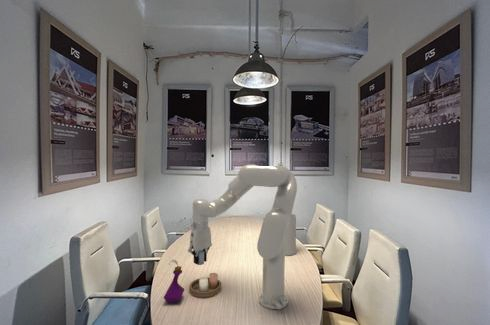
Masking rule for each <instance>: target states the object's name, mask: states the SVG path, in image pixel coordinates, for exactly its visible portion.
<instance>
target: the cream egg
mask: <svg viewBox="0 0 490 325" xmlns="http://www.w3.org/2000/svg"><path fill="white" fill-rule="evenodd" d="M206 277H207V276H206ZM206 277H203V276H202V277H201V278H200V277H199V278H200V279H199V278H198V279H199V292H208V278H206Z"/></svg>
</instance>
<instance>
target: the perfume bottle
mask: <svg viewBox="0 0 490 325" xmlns="http://www.w3.org/2000/svg"><path fill="white" fill-rule="evenodd" d="M171 263H174V264H176V265H177V266H175V267H174V270H172V271H173V272H172V274H173V279H172V281H171V283H170V285H169V287H168V289H167V290H166V292H165V294H164V296H163V299H164V300H165V301H166V302H167V303H168V304H179V303H180V301H181V298H182V296H183V294H184V292H185V288H184V287H183V286H181V285H180V284H179V282H178V280H179V276H180V275H181V274H182V273H183V269H182V266H181V265H179V264H178V261H177V260H176V259H174V258H173V259H172V260H170V261H169V264H168V265H171Z"/></svg>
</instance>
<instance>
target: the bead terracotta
mask: <svg viewBox="0 0 490 325" xmlns="http://www.w3.org/2000/svg"><path fill="white" fill-rule="evenodd" d="M208 277H209V288H210V289H216V288H217V287H218V280H219V279H218V278H219V276H218V273H216V272H212V273H209V275H208Z"/></svg>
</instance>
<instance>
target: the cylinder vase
mask: <svg viewBox="0 0 490 325" xmlns="http://www.w3.org/2000/svg"><path fill="white" fill-rule="evenodd" d="M284 236H285V240H286V247H285V257H286V256H294V255H295V254H296V252H297V215H296V214H293V213H292V214H291V218H290V223H289V225H288V226H287V228H286V230H285V233H284Z"/></svg>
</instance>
